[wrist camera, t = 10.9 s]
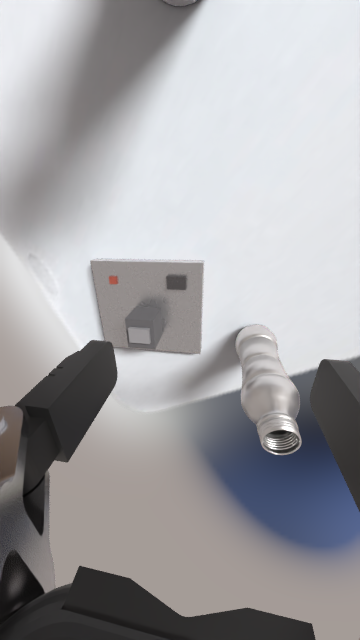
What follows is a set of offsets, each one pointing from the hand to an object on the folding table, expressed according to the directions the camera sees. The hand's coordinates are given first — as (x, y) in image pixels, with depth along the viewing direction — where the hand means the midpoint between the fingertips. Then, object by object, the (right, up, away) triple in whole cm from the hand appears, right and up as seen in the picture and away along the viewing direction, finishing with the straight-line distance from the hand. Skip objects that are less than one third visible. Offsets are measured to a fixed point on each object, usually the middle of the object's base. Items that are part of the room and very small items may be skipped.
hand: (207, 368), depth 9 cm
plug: (-6, +3, +31) cm, 32 cm away
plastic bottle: (+12, -1, +30) cm, 32 cm away
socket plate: (-6, +4, +31) cm, 31 cm away
